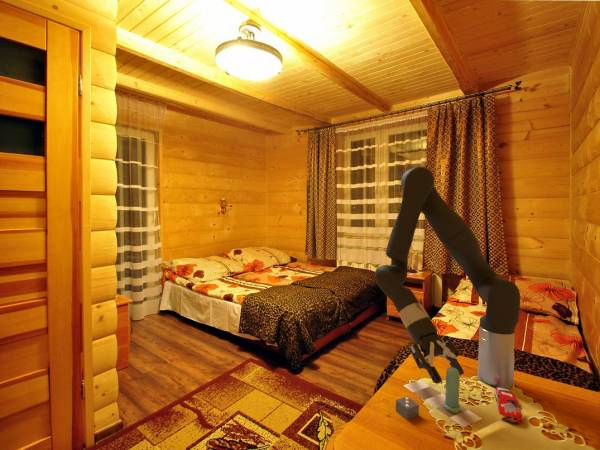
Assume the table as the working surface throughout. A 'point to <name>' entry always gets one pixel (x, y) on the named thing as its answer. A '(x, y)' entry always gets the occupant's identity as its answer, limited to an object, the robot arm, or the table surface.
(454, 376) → the pawn
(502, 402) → the race car
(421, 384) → the board
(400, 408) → the die
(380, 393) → the table surface
